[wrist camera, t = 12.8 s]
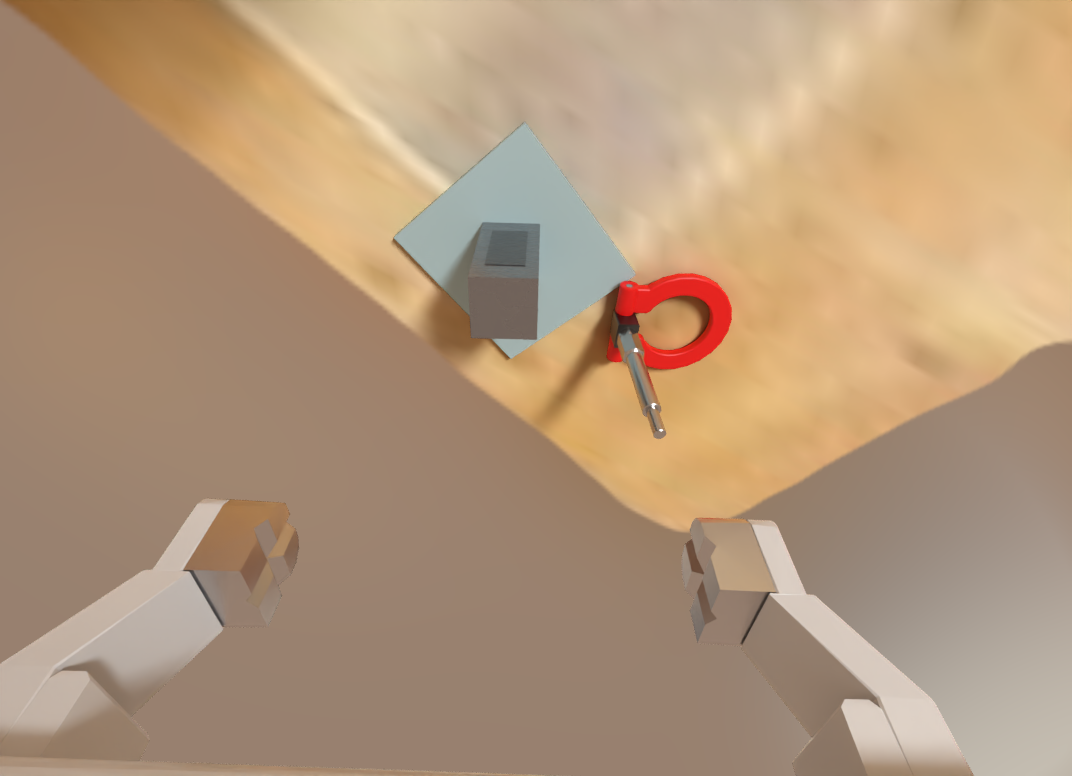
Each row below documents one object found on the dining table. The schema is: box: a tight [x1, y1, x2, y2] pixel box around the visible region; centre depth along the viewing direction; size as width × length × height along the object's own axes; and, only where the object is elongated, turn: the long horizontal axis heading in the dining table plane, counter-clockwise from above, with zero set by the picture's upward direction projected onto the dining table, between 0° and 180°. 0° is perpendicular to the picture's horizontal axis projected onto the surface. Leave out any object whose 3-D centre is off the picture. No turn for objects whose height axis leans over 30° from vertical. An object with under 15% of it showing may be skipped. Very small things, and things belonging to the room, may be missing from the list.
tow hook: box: [607, 274, 732, 439], centre depth 37 cm, size 8×13×9 cm
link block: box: [468, 222, 540, 340], centre depth 35 cm, size 4×4×9 cm
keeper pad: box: [394, 122, 635, 359], centre depth 39 cm, size 13×12×1 cm
